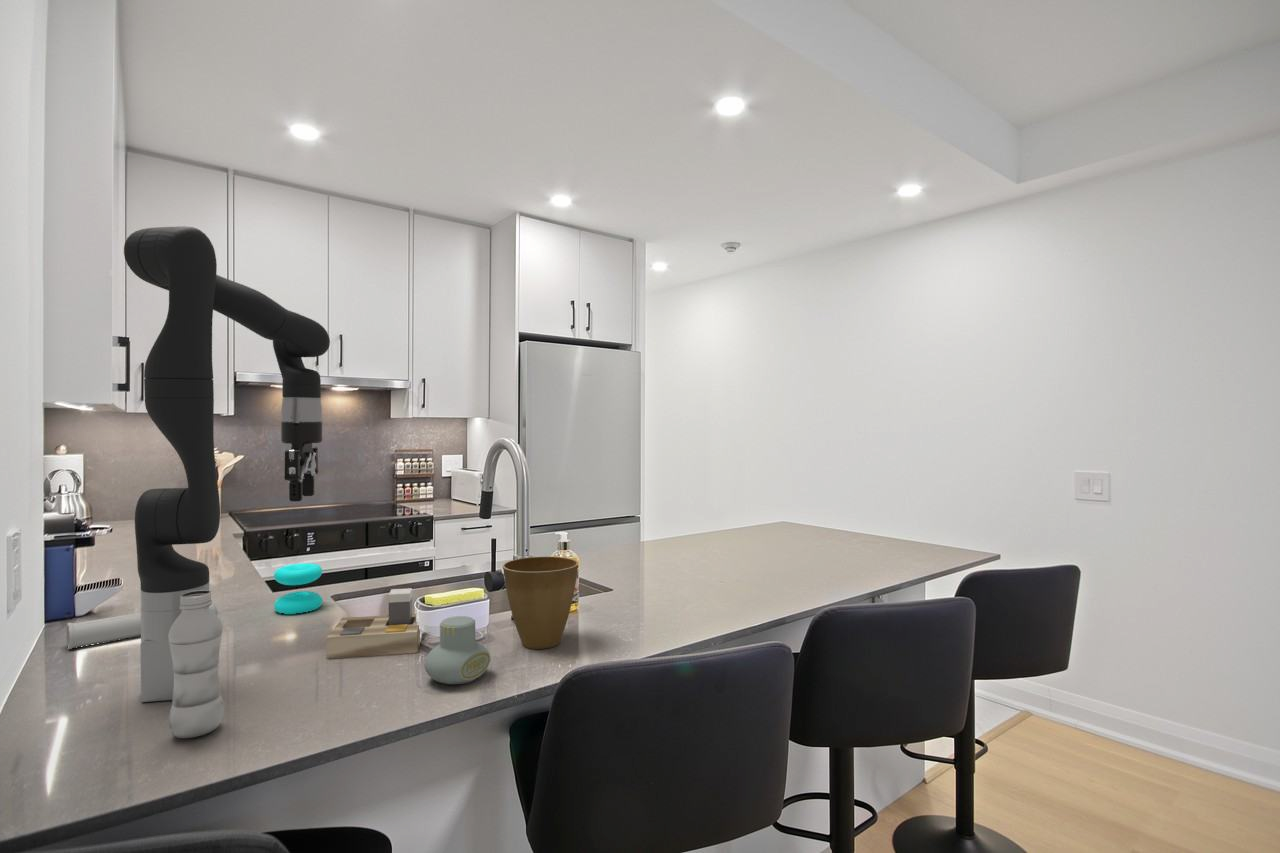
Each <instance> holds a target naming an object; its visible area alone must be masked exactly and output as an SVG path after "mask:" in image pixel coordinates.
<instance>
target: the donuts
mask: <svg viewBox="0 0 1280 853" xmlns="http://www.w3.org/2000/svg"><path fill="white" fill-rule="evenodd" d="M322 574H323V568H322V567H321V566H320V565H319V564H317V563H311V562H310V563H308V562H307V563H306V562H303V563H292V564H287V565H284V566H281V567H278V568H277V569H276V570H275V572H274V574H273V578H274V580H275V581H276V582H277V583H278V584H281V585H285V586H299V585H305V584H310V583H312V582H315V581H316V580H318V579H319V578H320V577H321V576H322ZM322 604H323V597H322V596H321V595H320V594H319V593H317V592H314V591H307V590H304V591H302V590H301V591H294V592H290V593H285V594H283V595H282V596H279V598H277V599H276V601H274V604H273V608H274V610H275V612H277V613H278V612H279V613H278V614H281V613H284V614H283V615H297V614H296V613H301V614H304V613H303V612H306V613H309V612H308V611H310V612H313V611H315V610H317V609H319V608H320V607H321V606H322ZM312 610H313V611H312Z"/></svg>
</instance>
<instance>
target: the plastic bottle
mask: <svg viewBox="0 0 1280 853" xmlns="http://www.w3.org/2000/svg"><path fill="white" fill-rule="evenodd" d="M212 603H213V600H212V591H211V590H210V589H209V590H197V591H190V592H186V593H183V594H181V597H180V609H181V610H182V613H181V614H180V615H179V616H178V618H177V619H176V620H175V622H174V623H173V625H172V626H171V628H170V631H169V634H168V638H169V645H170V650H171V655H172V660H173V671H174V689H173V700H171V702H172V703H171V706H170V711H169V717H168V724H169V727H170V732H171V733H172V734H173V735H174V737H176V738H179V739H191V738H197V737H201V736H205V735H207V734H209V733H211V732H213V731H215V730H216V729H217V728H219V726H220V724H222V721H223V719H224V712H225V705H224V699H223V697H222V693H221V692H222V691H221V683H220V676H219V671H220V670H219V667H220V666H219V664H220V663H219V662H220V651H221V650H220V649H221V643H222V636H223V627H224V626H223V623H222V621H221V619H220V618H219V616H218V614H217V615H216V614H215V613H214V612H213V611H212V610H211V609H210V605H212Z"/></svg>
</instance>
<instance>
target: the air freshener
mask: <svg viewBox="0 0 1280 853" xmlns="http://www.w3.org/2000/svg"><path fill="white" fill-rule="evenodd" d="M439 630H440V631H439V644H438V645H436V646H435V647H433V648H432V649H431V650H430V651H429V652H428V654H427V655H426V657H425V659H424V669H425V672H426V674H427V675H428V677H430V678H431V679H433V680H434V681H435V682H438V683H441V684H444V685H464V684H470V683H472V682H473V681H474V680H476V679H477V678H479V677H480V676H482V674H484V673H485V672H486V670H487V669H488V668H489V666H490V662H491V653H490V652H489V649H488V648H487V647H486V646H485V645H484V644H482V643H480V642H479V641H476V620H475V619H474V618H473V617H471V616H467V615H465V616H464V615H463V616H462V615H459V616H458V615H457V616H452V617H451V616H450V617H447V618H444V619H443V620H442V621H441V622H440V623H439Z"/></svg>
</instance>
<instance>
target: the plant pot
mask: <svg viewBox="0 0 1280 853" xmlns="http://www.w3.org/2000/svg"><path fill="white" fill-rule="evenodd" d="M578 568H579V561H577V560H575V559H573V558H569V557H562V556H546V555H545V556H531V557H530V556H528V557H521V558H515V559H512V560H509V561H506V562H504V563H503V564H502V570H503V571H502V572H503V575H504V576H503V577H504V584H505V589H506V595H507V598H508V599H507V600H508V605H509V608H510V612H511V615H512V619H513V622H514V624H515V628H516V631H517V633H518V636H519V638H520V642H521V644H522V646H524V647H525V648H528V649H531V650H532V649H533V650H534V649H535V650H543V649H550V648H553V647H557V645H559V644H560V643H561V639H562V637H563V634H564V631H565V628H566V624H567V622H568V618H569V615H570V611H571V607H572V603H573V599H574V595H575V591H576V590H575V588H576V584H577V577H578V576H577V575H578Z"/></svg>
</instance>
